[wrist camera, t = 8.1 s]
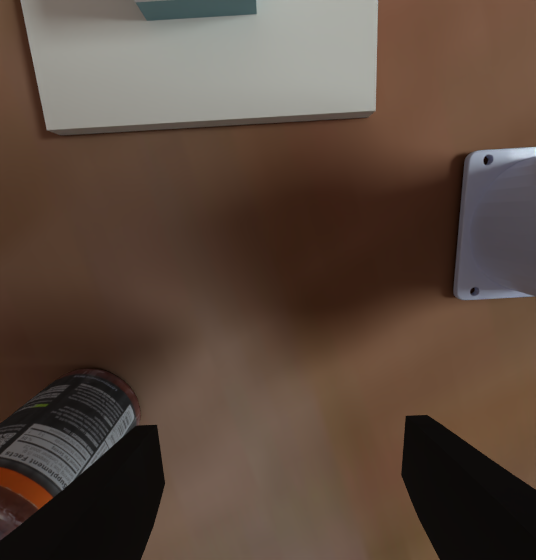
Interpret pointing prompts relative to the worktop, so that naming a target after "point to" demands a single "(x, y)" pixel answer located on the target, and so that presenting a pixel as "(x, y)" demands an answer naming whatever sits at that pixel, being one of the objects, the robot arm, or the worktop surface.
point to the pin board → (201, 65)
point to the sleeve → (194, 8)
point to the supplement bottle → (60, 439)
